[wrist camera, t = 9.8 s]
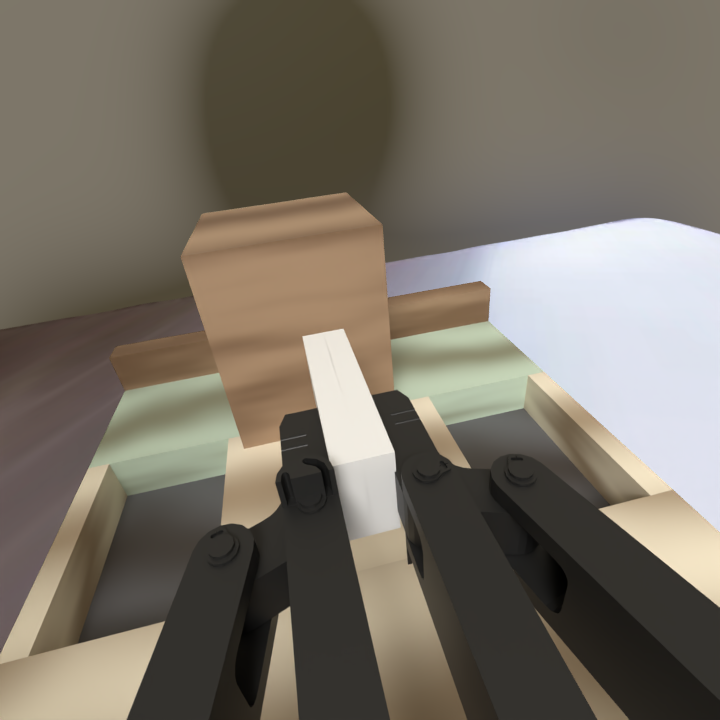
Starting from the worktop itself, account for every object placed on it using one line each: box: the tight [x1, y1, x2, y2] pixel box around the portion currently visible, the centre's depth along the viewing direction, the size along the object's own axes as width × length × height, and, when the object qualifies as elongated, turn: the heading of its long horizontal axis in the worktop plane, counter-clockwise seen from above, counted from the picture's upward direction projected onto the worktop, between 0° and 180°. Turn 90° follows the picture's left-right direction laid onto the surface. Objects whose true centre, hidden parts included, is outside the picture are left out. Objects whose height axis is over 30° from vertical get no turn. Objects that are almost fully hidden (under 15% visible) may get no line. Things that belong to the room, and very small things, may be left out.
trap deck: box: [0, 281, 720, 720], centre depth 19 cm, size 28×25×6 cm
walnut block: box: [181, 193, 394, 449], centre depth 23 cm, size 8×8×10 cm
